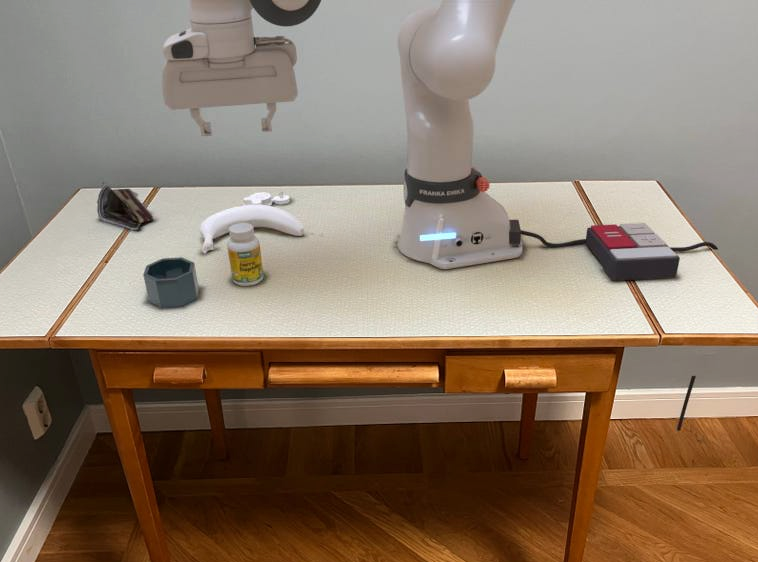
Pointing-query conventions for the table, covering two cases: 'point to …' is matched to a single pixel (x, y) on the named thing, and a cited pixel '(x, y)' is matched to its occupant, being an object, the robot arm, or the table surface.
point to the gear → (265, 199)
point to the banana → (251, 215)
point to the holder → (171, 282)
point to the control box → (632, 252)
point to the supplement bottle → (244, 255)
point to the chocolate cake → (122, 208)
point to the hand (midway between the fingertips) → (237, 133)
